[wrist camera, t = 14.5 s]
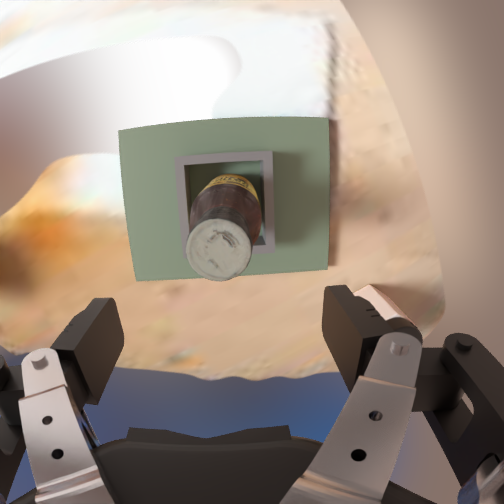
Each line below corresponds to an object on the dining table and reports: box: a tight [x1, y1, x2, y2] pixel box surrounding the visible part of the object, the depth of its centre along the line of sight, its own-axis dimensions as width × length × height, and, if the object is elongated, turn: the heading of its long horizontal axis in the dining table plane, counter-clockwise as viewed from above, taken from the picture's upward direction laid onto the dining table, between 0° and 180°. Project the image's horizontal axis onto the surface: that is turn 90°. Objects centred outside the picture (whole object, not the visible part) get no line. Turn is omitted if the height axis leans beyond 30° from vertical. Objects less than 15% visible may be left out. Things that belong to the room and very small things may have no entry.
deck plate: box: [118, 117, 330, 281], centre depth 36 cm, size 26×20×6 cm
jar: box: [353, 285, 423, 345], centre depth 39 cm, size 9×8×12 cm
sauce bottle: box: [186, 174, 262, 281], centre depth 27 cm, size 7×6×20 cm
